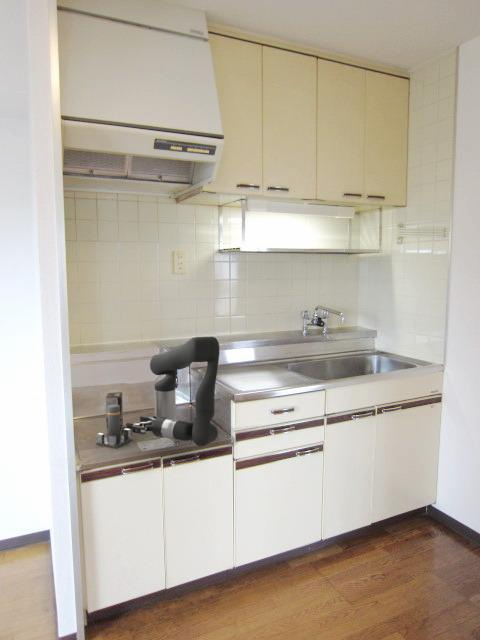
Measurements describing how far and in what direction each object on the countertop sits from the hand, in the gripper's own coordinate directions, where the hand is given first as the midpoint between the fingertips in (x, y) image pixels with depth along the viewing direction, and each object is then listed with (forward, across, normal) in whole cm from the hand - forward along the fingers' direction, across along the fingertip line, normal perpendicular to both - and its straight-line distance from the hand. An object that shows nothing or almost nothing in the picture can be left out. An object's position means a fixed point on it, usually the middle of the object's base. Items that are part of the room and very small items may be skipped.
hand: (133, 422), depth 181 cm
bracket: (+10, 0, +10) cm, 14 cm away
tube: (+10, 0, +9) cm, 13 cm away
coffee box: (+19, -11, +10) cm, 24 cm away
